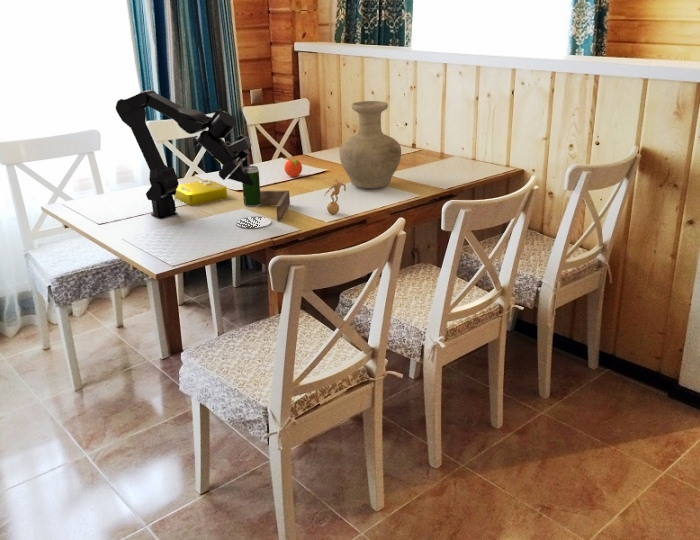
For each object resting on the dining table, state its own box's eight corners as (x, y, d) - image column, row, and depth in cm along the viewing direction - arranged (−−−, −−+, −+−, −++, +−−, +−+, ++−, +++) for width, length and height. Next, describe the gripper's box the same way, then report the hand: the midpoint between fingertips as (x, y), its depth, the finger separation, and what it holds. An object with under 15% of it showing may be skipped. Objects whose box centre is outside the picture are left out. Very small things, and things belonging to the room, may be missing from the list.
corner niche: (238, 221, 219) (237, 206, 217) (250, 204, 236) (249, 190, 234) (280, 221, 218) (279, 206, 216) (290, 204, 234) (289, 190, 233)
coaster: (250, 231, 210) (250, 230, 210) (229, 223, 217) (229, 222, 217) (278, 222, 217) (278, 221, 217) (257, 215, 224) (257, 214, 224)
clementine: (305, 178, 266) (304, 160, 264) (288, 180, 264) (287, 162, 261) (299, 173, 273) (298, 155, 270) (282, 175, 271) (281, 157, 268)
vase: (391, 196, 240) (391, 109, 229) (331, 192, 247) (328, 107, 236) (407, 180, 260) (408, 99, 248) (351, 176, 267) (349, 97, 255)
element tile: (172, 198, 247) (170, 185, 245) (209, 190, 255) (208, 177, 254) (191, 207, 236) (189, 193, 234) (229, 198, 244) (228, 185, 243)
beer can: (248, 208, 212) (245, 170, 207) (241, 204, 216) (238, 167, 211) (264, 205, 214) (261, 168, 210) (256, 201, 219) (254, 164, 214)
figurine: (339, 209, 228) (338, 174, 223) (351, 214, 223) (350, 178, 219) (319, 215, 223) (317, 179, 218) (330, 219, 219) (329, 183, 214)
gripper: (226, 134, 198) (266, 172, 201) (240, 122, 215) (277, 157, 218) (201, 161, 201) (241, 197, 205) (218, 147, 218) (254, 181, 222)
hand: (255, 182), depth 212 cm, fingers closed on beer can, 5 cm apart
